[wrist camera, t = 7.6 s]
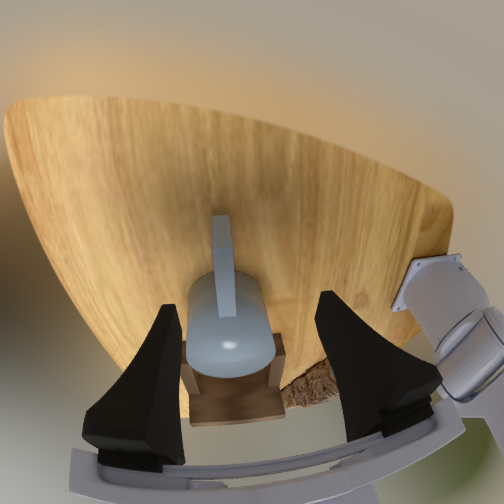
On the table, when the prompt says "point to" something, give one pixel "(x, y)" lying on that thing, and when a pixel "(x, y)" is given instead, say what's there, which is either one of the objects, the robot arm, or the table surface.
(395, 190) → the table surface
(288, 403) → the rock
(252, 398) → the caddy
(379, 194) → the table surface
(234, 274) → the finned dome knob
